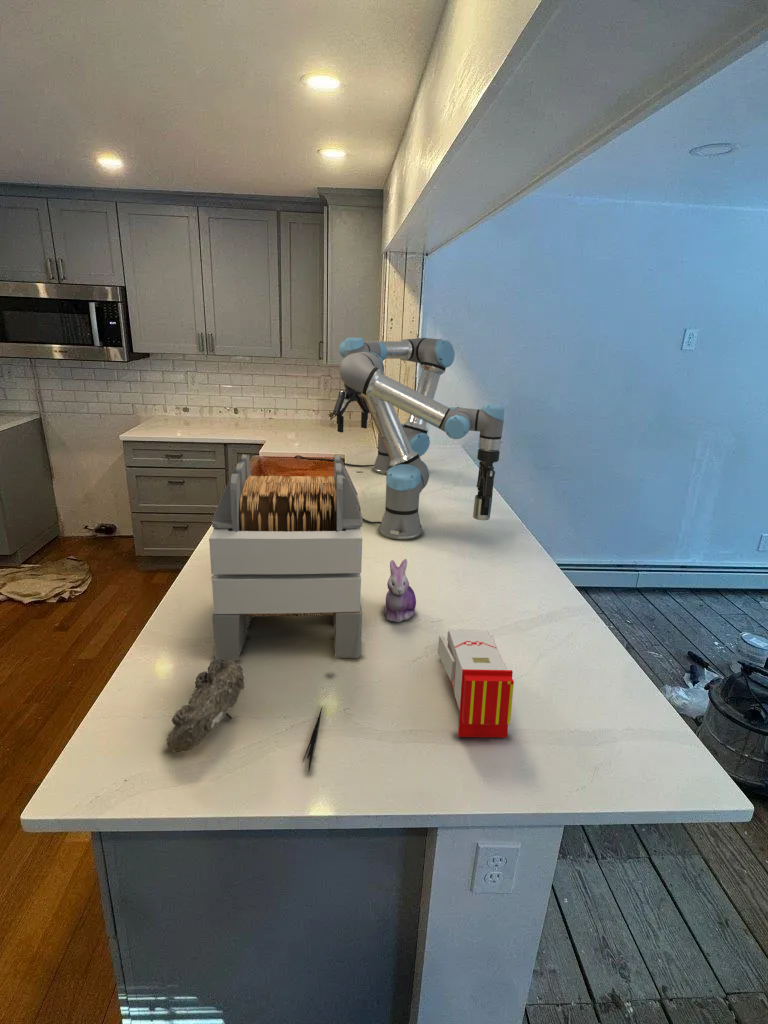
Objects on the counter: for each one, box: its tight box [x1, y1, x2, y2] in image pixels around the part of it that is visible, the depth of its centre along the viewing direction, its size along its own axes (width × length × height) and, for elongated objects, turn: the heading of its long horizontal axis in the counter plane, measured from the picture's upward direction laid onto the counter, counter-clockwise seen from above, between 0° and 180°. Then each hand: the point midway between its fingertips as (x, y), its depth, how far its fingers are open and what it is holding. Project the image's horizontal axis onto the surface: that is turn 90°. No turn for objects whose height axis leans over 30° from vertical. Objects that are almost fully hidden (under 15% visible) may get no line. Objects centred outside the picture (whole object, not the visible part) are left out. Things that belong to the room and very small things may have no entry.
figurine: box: [384, 558, 417, 623], centre depth 145 cm, size 9×10×15 cm
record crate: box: [208, 453, 364, 661], centre depth 135 cm, size 34×33×41 cm
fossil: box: [166, 659, 245, 754], centre depth 106 cm, size 22×10×15 cm
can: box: [472, 493, 493, 521], centre depth 205 cm, size 6×6×8 cm
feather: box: [301, 673, 332, 771], centre depth 108 cm, size 2×28×2 cm
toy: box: [437, 628, 515, 738], centre depth 117 cm, size 12×13×30 cm
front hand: (481, 511), depth 205 cm, fingers closed on can, 6 cm apart
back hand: (352, 430), depth 235 cm, fingers open, 13 cm apart
